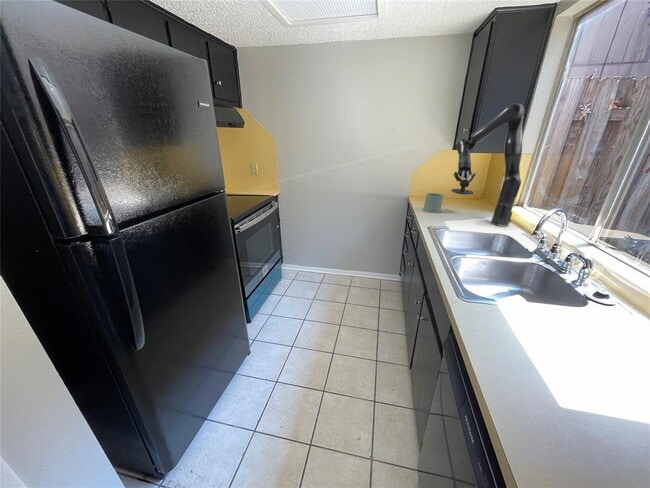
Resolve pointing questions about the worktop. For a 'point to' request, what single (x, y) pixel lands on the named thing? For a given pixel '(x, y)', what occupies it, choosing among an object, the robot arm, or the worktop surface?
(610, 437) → the worktop surface
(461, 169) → the robot arm
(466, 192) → the lid
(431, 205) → the teal cylindrical pot
